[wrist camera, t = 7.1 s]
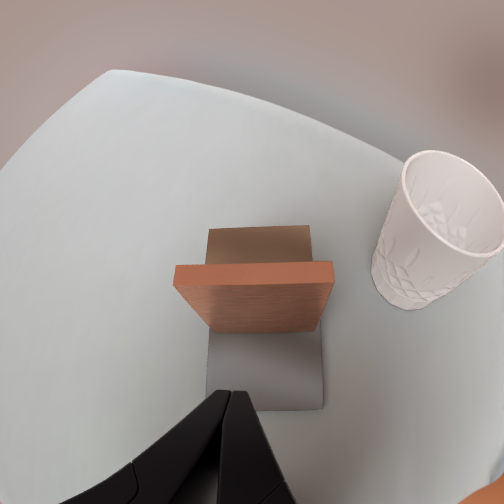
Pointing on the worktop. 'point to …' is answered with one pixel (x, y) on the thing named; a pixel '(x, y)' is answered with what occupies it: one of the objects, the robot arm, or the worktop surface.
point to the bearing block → (265, 344)
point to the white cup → (436, 230)
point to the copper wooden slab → (257, 295)
